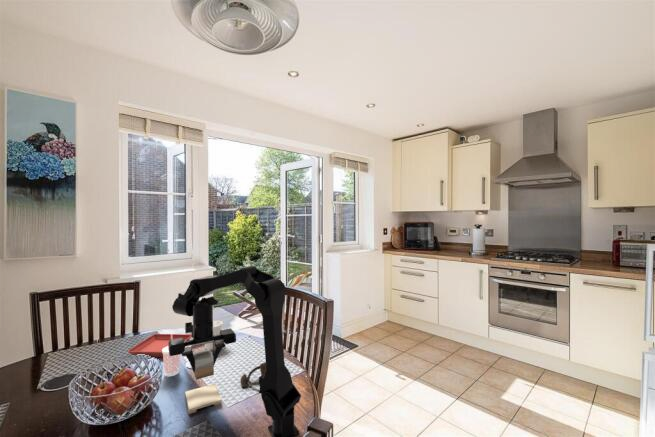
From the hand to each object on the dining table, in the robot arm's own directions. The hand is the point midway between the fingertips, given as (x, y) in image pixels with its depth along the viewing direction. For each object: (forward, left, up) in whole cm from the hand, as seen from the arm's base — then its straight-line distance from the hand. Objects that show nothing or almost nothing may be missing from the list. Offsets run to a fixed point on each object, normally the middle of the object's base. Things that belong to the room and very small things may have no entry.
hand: (203, 368), depth 93 cm
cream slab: (0, 0, -10) cm, 10 cm away
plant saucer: (+47, +9, -11) cm, 49 cm away
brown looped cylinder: (+2, -19, -10) cm, 21 cm away
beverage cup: (+23, +7, -10) cm, 26 cm away
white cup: (+38, -10, -10) cm, 41 cm away
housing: (0, 0, -1) cm, 1 cm away
